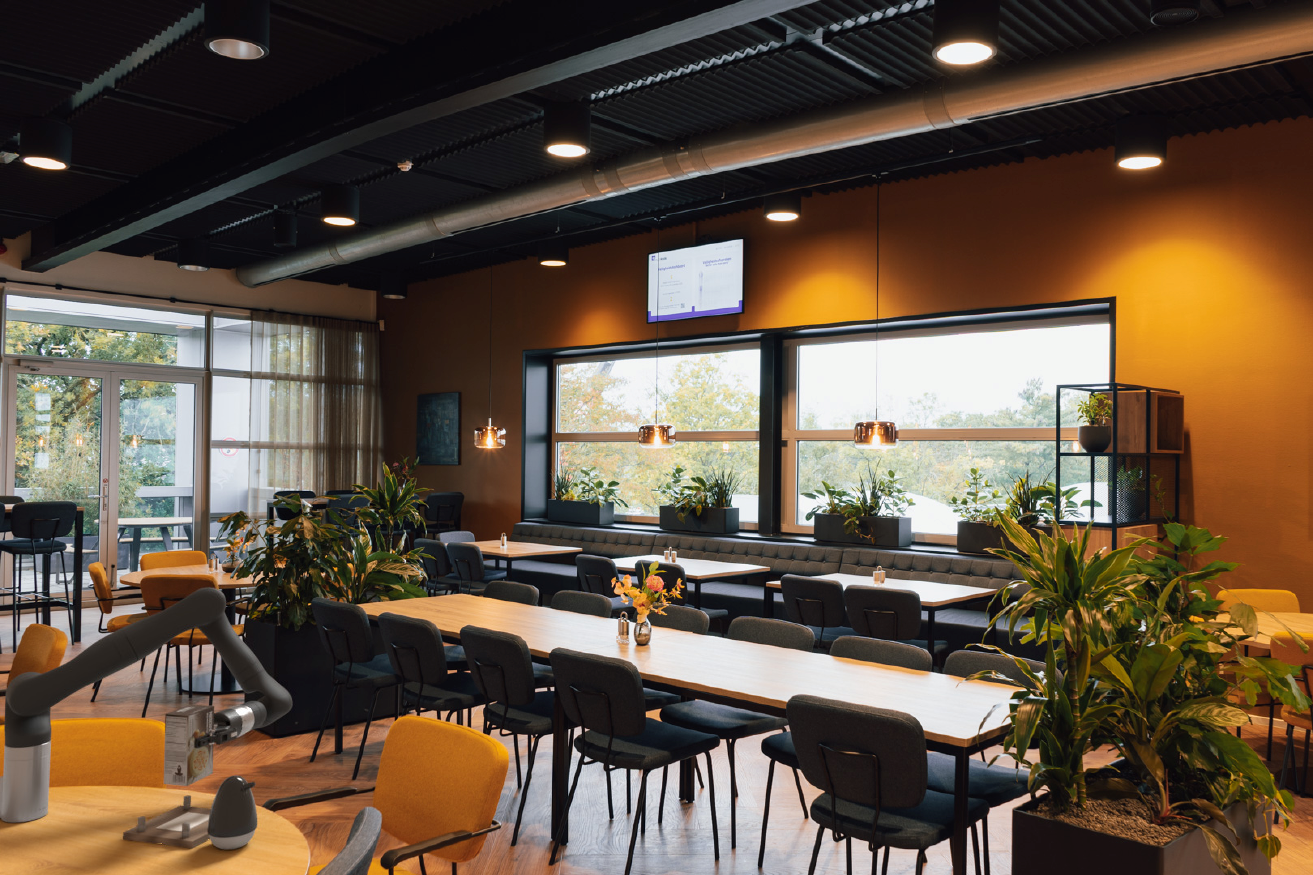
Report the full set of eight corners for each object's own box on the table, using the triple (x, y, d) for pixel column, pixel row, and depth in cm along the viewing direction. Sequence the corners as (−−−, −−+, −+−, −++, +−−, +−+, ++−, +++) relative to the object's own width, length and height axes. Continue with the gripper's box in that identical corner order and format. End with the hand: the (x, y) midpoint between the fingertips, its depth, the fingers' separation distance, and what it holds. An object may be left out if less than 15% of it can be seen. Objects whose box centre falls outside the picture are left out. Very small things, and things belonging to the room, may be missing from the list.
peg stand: (123, 838, 216) (123, 818, 216) (180, 811, 233) (180, 792, 233) (192, 848, 212) (193, 827, 212) (245, 819, 229) (246, 800, 229)
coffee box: (189, 771, 228) (191, 703, 228) (213, 773, 227) (215, 705, 227) (162, 784, 219) (164, 713, 219) (187, 786, 218) (189, 715, 218)
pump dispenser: (236, 856, 207) (239, 785, 208) (195, 850, 210) (198, 780, 211) (267, 839, 217) (269, 771, 218) (228, 833, 220) (230, 766, 221)
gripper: (205, 705, 239) (156, 723, 222) (256, 710, 235) (210, 728, 219) (204, 736, 239) (155, 756, 222) (255, 741, 235) (209, 762, 219)
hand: (182, 742), depth 221 cm, fingers closed on coffee box, 6 cm apart
